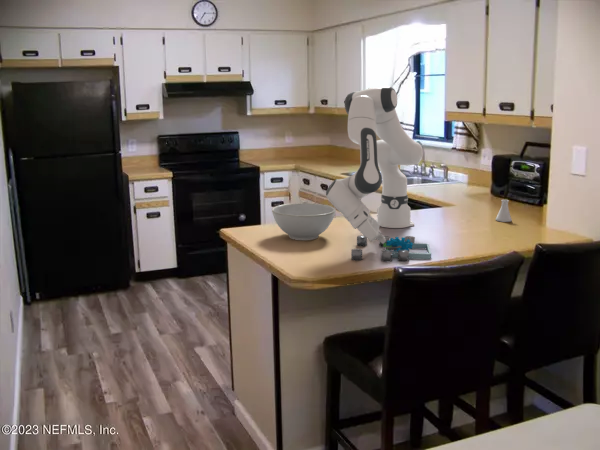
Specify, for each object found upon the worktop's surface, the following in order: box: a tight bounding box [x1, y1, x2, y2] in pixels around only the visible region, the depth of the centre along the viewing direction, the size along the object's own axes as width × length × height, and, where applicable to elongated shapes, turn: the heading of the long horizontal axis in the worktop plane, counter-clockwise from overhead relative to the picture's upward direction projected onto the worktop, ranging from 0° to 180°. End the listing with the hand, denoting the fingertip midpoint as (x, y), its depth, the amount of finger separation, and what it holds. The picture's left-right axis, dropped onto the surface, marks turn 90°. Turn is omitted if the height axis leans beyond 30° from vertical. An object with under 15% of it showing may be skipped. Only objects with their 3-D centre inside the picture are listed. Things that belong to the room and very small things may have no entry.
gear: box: [382, 236, 413, 252], centre depth 233 cm, size 11×6×10 cm
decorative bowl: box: [271, 202, 337, 241], centre depth 260 cm, size 27×27×12 cm
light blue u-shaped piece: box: [392, 242, 432, 260], centre depth 236 cm, size 16×15×2 cm
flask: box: [494, 199, 513, 223], centre depth 292 cm, size 7×7×10 cm
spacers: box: [350, 234, 416, 263], centre depth 237 cm, size 26×24×4 cm
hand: (384, 241), depth 235 cm, fingers closed
